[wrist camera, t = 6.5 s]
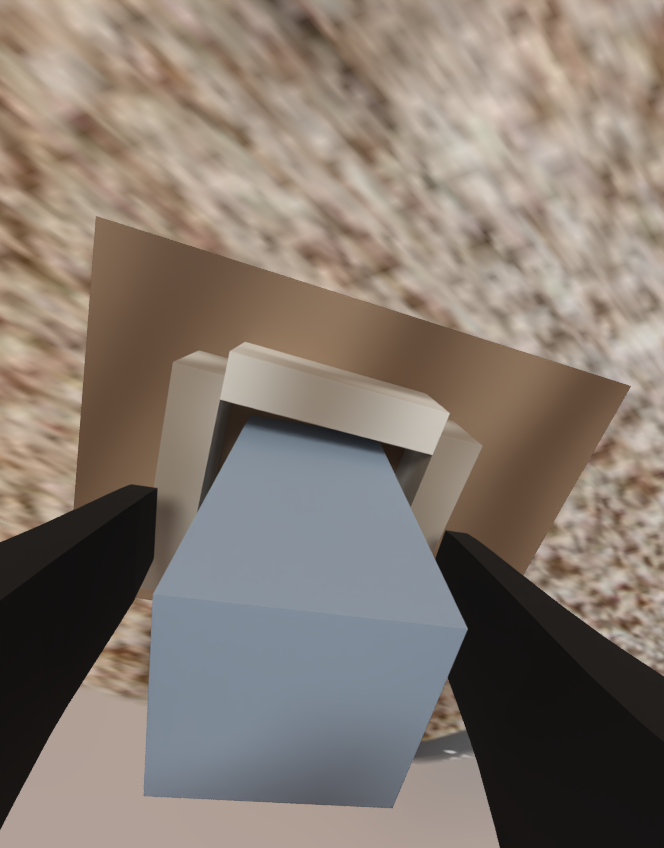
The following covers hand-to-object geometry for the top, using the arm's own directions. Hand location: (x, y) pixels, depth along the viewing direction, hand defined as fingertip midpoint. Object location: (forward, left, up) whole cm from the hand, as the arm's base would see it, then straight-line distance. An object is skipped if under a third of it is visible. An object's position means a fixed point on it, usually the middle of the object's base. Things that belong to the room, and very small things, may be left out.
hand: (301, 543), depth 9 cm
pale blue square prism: (0, 0, -3) cm, 3 cm away
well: (0, 0, -4) cm, 4 cm away
